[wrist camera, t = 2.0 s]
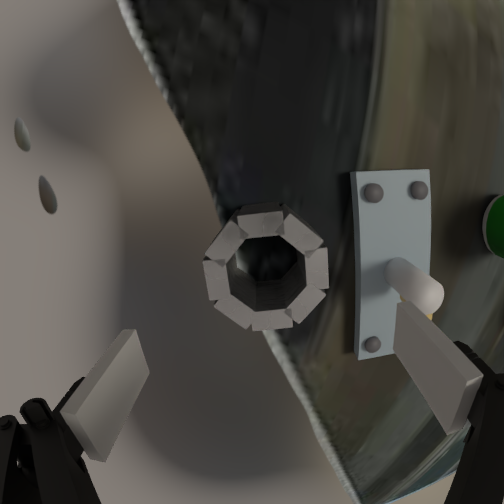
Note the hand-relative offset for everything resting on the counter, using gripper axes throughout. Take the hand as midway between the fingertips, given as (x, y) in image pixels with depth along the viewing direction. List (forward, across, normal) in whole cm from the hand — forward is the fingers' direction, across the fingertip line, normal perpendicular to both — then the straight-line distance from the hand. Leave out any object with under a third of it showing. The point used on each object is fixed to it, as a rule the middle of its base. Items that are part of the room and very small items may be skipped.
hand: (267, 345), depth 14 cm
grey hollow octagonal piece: (+17, 0, 0) cm, 17 cm away
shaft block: (+17, +13, -3) cm, 21 cm away
